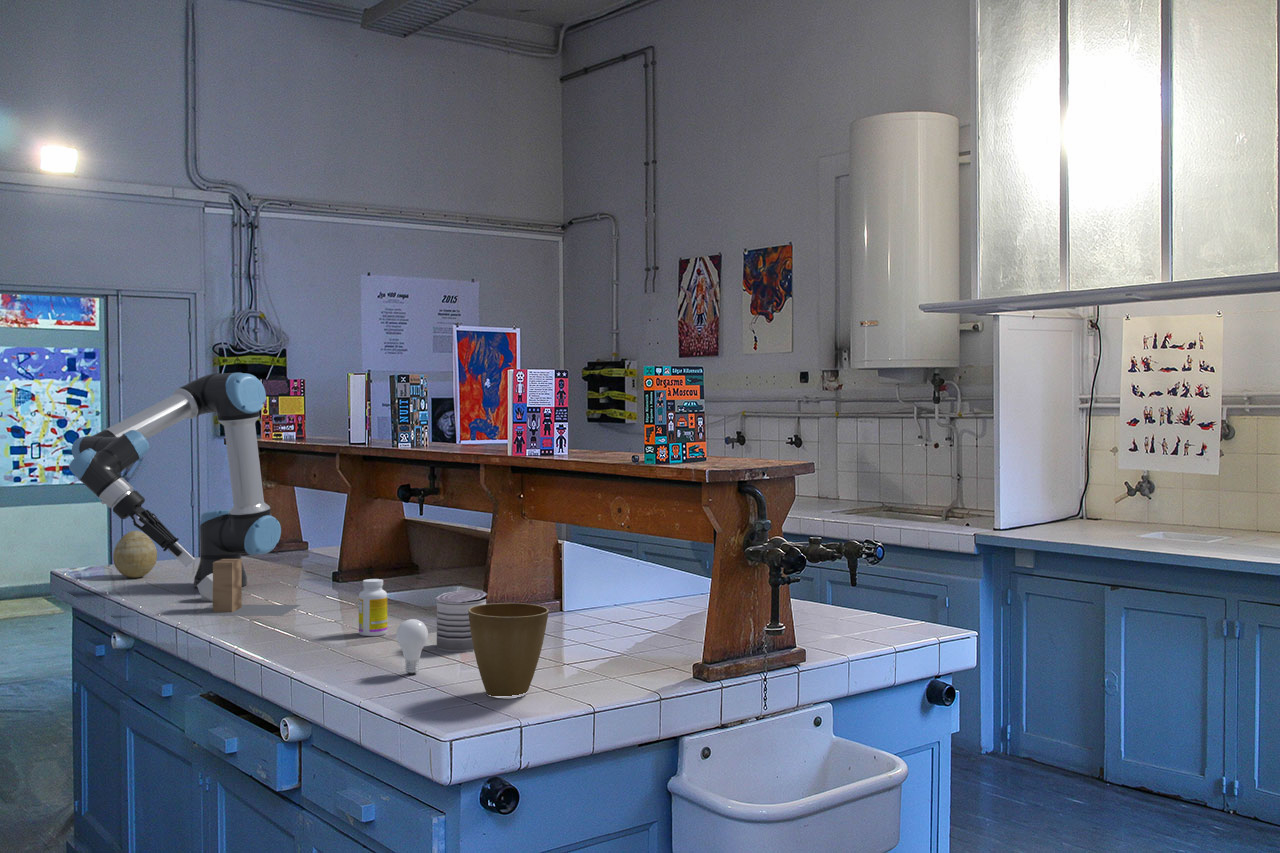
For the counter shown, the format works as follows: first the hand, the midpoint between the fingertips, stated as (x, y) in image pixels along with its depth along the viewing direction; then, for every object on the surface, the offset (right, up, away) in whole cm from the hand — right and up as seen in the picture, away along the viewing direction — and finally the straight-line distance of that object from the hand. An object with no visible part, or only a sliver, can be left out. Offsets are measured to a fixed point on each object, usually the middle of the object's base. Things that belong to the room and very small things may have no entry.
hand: (190, 563), depth 282 cm
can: (+77, -14, -39) cm, 88 cm away
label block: (+9, -13, +3) cm, 16 cm away
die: (-1, -13, +17) cm, 22 cm away
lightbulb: (+72, -14, -65) cm, 98 cm away
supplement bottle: (+54, -14, -26) cm, 61 cm away
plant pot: (+93, -15, -81) cm, 124 cm away
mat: (+14, -13, +3) cm, 19 cm away
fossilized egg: (-43, -13, +62) cm, 77 cm away
